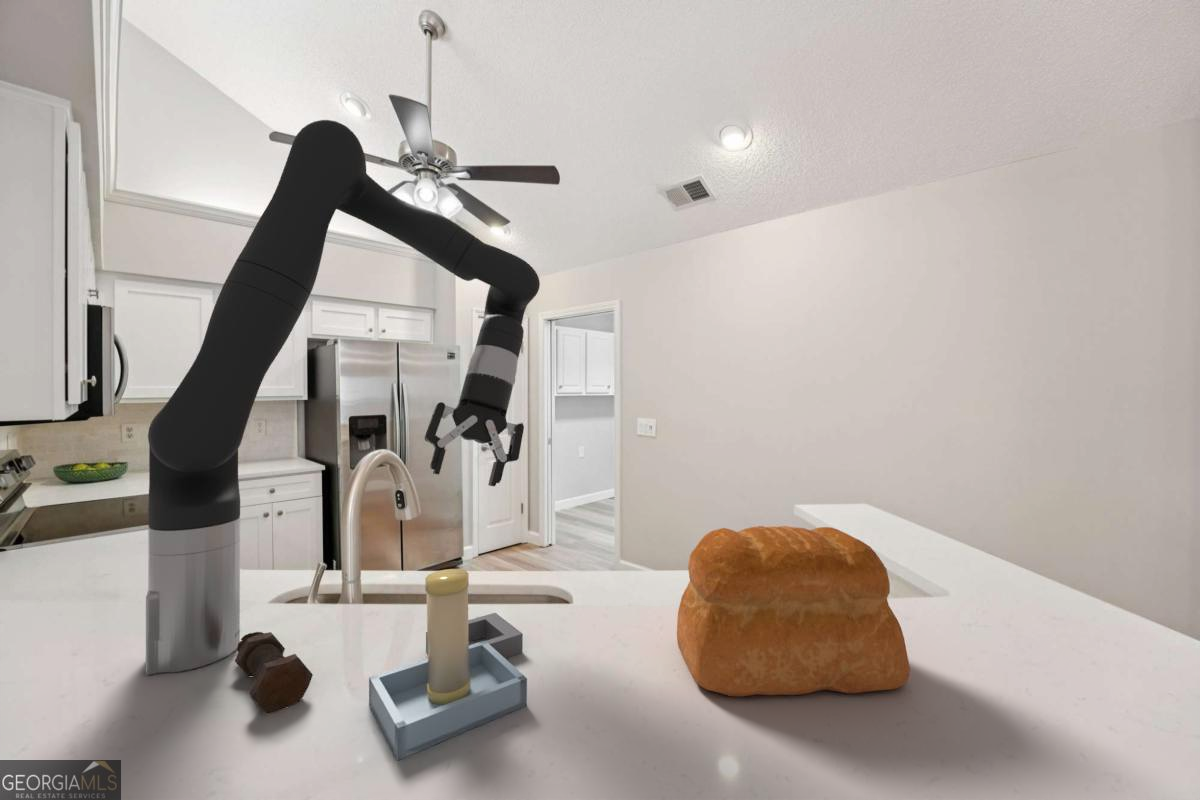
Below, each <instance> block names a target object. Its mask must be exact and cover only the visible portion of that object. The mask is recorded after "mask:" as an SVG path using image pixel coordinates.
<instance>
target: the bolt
mask: <svg viewBox="0 0 1200 800" xmlns="http://www.w3.org/2000/svg"><path fill="white" fill-rule="evenodd" d="M236 650H237V655H236V656H235V659H234V662H235V664H236V666H238V668H239V669H240V670H241V671H242V672H243V673H244V674H245V675H246V676H247V678H250V677H249V676H253V677H254V679H255V680H254V682H253V684H252V686H251V688H250V690H249V692H248V695H249V696H250V698H251V699H252V700H253V702H254V703H255V704H256V705H257V706H258V707H259V708H260V709H261V710H262V711H263V712H264V713H265V714H266V715H267V714H273V713H277V712H280V711H281V710H285V709H287V708H286V707H288V708H289V707H292V706H294V705H296V704H297V702H298V703H299V702H300V701H301V700H302V699H303V697H304V696H305V694H306V692H307V690H308V688H309V687H310V685H311V681H312V678H313V675H314V674H313V673H312V672H311V670H310V669H309V668H308V667H307V666H306V664H304V662H303V661H302V660H301V658H300V657H298V655H297V654H296V653H292V654H290V655H287V656H284V652H285V650H286V648H285V647H284V646H283V644H282V643H281V642H280V640H279V639H278V638H277V637H276V636H275V635H274V633H272V632H271V631H270V632H269V631H268V632H262V631H256V632H250V633H247V634H245V635H243V636H242V637H241V639H240V642H239V643H238V647H237V649H236ZM279 710H280V711H279Z"/></svg>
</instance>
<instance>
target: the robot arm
mask: <svg viewBox="0 0 1200 800" xmlns="http://www.w3.org/2000/svg"><path fill="white" fill-rule="evenodd" d="M365 155H366V154H365V151H364V148H363V146H362V144H361V142H360V140H359V138H358V137H357V136H356V134H355V133H354V132H353V131H352V130H351V129H350V127H348V126H347V125H345V124H343V123H341V122H339V121H336V120H330V119H319V120H315V121H312V122H310V123H309V124H306V125H305V126H304V127H302V128H301V129H300V130H299V132H298V133H297V134H296V135H295V137H294V139H293V141H292V143H291V148H290V151H289V153H288V156H287V158H286V161H285V165H284V167H283V170H282V172H281V176H280V179H279V181H278V183H277V186H276V188H275V191H274V193H273V195H272V197H271V198H270V201H269V202H268V204H267V206H266V208H265V209H264V211H263V213H262V214H261V216H260V218H259V219H258V221H257V223H256V224H255V226H254V228H253V230H252V232H251V234H250V236H249V238H248V240H247V241H246V243H245V245H244V247H243V249H242V250H241V252H240V254H239V256H238V257H237V259H235V260H236V261H235V262H234V264H233V266H232V268H231V269H230V271H229V273H228V275H227V277H226V279H225V280H224V283H223V285H222V287H221V289H220V292H219V294H218V296H217V299H216V302H215V304H214V307H213V310H212V311H211V316H210V318H209V321H208V325H207V328H206V332H205V335H204V338H203V341H202V344H201V347H200V350H199V351H198V353H197V355H196V358H195V359H194V361H193V363H192V365H191V367H190V368H189V369H188V371H187V373H186V374H185V375H184V376H183V379H182V381H181V382H180V384H179V385H178V386H177V388H176V389H175V391H174V392H173V394H172V395H171V396H170V398H169V399H168V401H167V402H166V403H165V405H164V406H163V407H162V408H161V410H159V411H158V412H157V414H156V415H155V416H154V418H153V419H152V421H151V422H150V425H149V428H148V433H147V441H148V445H149V447H148V452H149V453H148V454H149V456H148V457H149V458H148V461H149V462H148V463H149V465H148V466H149V467H148V468H149V469H148V472H149V473H148V474H149V477H148V478H149V479H148V480H149V484H148V503H147V506H148V507H147V514H148V516H147V517H148V520H147V524H148V525H147V526H148V530H147V531H148V534H147V535H148V541H147V543H148V550H147V551H148V553H147V554H148V561H147V562H148V563H147V564H148V567H147V570H148V572H147V574H148V576H147V578H148V579H147V580H148V581H147V582H148V583H147V584H148V586H147V588H148V589H147V592H146V593H147V594H146V595H145V675H147V676H149V675H152V674H157V673H177V672H184V671H188V670H189V671H190V670H193V669H196V668H197V669H198V668H200V667H203V666H207V665H210V664H213V663H215V662H218V661H219V660H222V659H224V658H225V657H227V656H229V655H231V654H232V653H234V651H235V650H237V647H238V643H239V642H240V641H241V639H240V637H241V635H240V634H241V625H240V623H241V622H240V621H241V620H240V619H241V617H240V615H241V614H240V613H241V600H240V599H241V595H240V594H241V494H240V486H239V484H240V482H239V448H240V446H241V444H242V440H243V438H244V433H245V431H246V427H247V424H248V420H249V418H250V416H251V415H250V414H251V411H252V410H253V406H254V403H255V400H256V398H257V396H258V392H259V390H260V388H261V385H262V383H263V380H264V379H265V376H266V374H267V372H268V371H269V369H270V367H271V366H272V364H273V362H274V361H275V359H276V358H277V357H278V354H279V353H280V352H281V350H282V348H283V346H284V345H285V344H286V342H287V340H288V338H289V336H290V335H291V332H292V331H293V329H294V327H295V325H296V324H297V322H298V320H299V318H300V316H301V314H302V312H303V311H304V308H305V306H306V304H307V302H308V300H309V298H310V295H311V293H312V291H313V289H314V286H315V283H316V280H317V277H318V273H319V269H320V265H321V260H322V257H323V253H324V246H325V242H326V237H327V233H328V230H329V227H330V224H331V221H332V218H333V216H334V214H335V212H336V210H338V211H339V212H342V213H344V214H347V215H349V216H352V218H355V219H357V220H360V221H362V222H364V223H366V224H368V225H370V226H372V227H374V228H376V229H377V230H380V231H382V232H383V233H386V234H387V235H390V236H391V237H393V238H395V239H397V240H398V241H401V242H402V243H404V244H406V245H407V246H409V247H410V248H413V250H416V251H417V252H419V253H420V254H422V255H423V256H425V257H427V258H428V259H430V260H431V261H433V262H435V264H437V265H438V266H441V267H442V268H443V269H445V270H446V271H448V272H450V273H451V274H453V275H455V276H456V277H457V278H459V279H462V280H463V281H466V282H470V281H473V280H478V281H481V282H483V283H485V284H487V285H489V289H488V291H487V295H486V301H485V306H484V312H483V321H482V323H481V327H480V329H479V332H478V337H477V341H476V344H475V348H474V350H473V353H472V355H471V357H470V360H469V364H468V367H467V371H466V374H465V379H464V382H463V385H462V389H461V391H460V392H461V393H460V396H459V399H458V404H457V405H456V406H455V407H451V406H448V405H446V404H445V402H443V401H440V402H438V403H437V404H436V405H435V408H434V410H433V412H432V415H431V418H430V421H429V423H428V426H427V430H426V432H425V434H424V441H425V442H427V443H429V444H431V445H432V446H433V447H434V450H433V454H432V458H431V460H430V461H431V462H430V470H433V472H432V474H433V475H440V472H441V469H442V466H443V461H444V458H445V454H446V451H447V449H446V447H447V445H448V444H450V443H451V442H453V441H454V440H456V438H458V437H459V436H460V437H461V438H462V439H463V440H465V441H474V442H476V443H478V444H480V445H481V444H482V445H484V444H487V445H488V448H489V450H490V451H491V452H492V456H493V457H494V460H495V461H493V465H492V468H491V472H490V476H489V480H488V486H490V487H496V486H497V484H501V483H500V482H502V479H503V473H504V469H505V467H506V466H505V465H506V464H507V463H511V462H516V461H518V460H519V457H520V452H521V447H522V440H523V434H524V428H525V426H524V424H523V423H521V422H520V423H517V424H516V423H513V422H508V421H507V414H508V409H509V405H510V401H511V396H512V393H513V388H514V385H515V383H516V375H517V371H518V361H519V357H520V353H521V349H522V344H523V339H524V333H525V332H524V327H523V319H524V315H525V312H526V308H527V307H528V305H529V304H530V303H531V302H532V300H534V298H535V297H536V296H537V294H538V292H539V290H540V285H541V283H540V278H539V275H538V274H537V272H536V270H535V269H534V268H533V266H531V264H529V263H528V262H527V261H526V260H524V258H521V257H520V256H517V255H515V254H512V253H511V252H507V251H505V250H503V249H501V248H498V247H496V246H494V245H490V244H488V243H485V242H484V241H482V240H481V239H479V238H478V237H476V236H475V235H474V234H472V233H471V232H469V231H468V230H466V229H465V228H463V227H462V226H461V225H459V224H458V223H456V222H454V221H452V220H451V219H449V218H448V217H446V216H443V215H441V214H439V213H437V212H434V211H432V210H429V209H426V208H423V207H421V206H417V205H415V204H411V203H409V202H407V201H405V200H403V199H401V198H400V197H397V196H396V195H394V194H392V193H391V192H390V191H388V190H386V189H385V188H384V187H382V186H381V185H380V184H379V183H378V182H376V181H375V180H374V179H373V178H372V177H371V176H370V175H369V174H368V173H367V161H366V156H365ZM450 415H451V417H452V419H453V422H454V425H455V426H456V427H454V428H453V429H452V430H451V431H449V432H448V433H447V434H445V435H444V436H443V437H441V438H440V437H439V436H438V435H437V432H438V429H439V426H440V424H441V421H442V420H445V419H447V418H448V417H449V416H450ZM505 430H506V431H507V435H508V437H509V438H510V439H509V440H510V441H509V446H508V452H507V453H506V452H505V450H504V447H503V443H502V440H501V438H500V436H499V435H500V434H501V433H503V431H505Z"/></svg>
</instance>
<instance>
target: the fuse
mask: <svg viewBox="0 0 1200 800" xmlns="http://www.w3.org/2000/svg"><path fill="white" fill-rule="evenodd" d="M424 579H425V581H424V582H425V583H424V584H425V585H424V589H425V592H426V630H427V631H426V632H427V643H428V653H427V659H428V684H427V693H428V700H429V701H430V702H432V703H434V704H438V705H446V704H448V703H451V702H454V701H456V700H459V699H462V698H464V697H466V696H467V695H468V694H469V692H470V689H471V687H470V675H469V645H470V642H469V629H468V620H469V597H468V596H469V592H468V591H469V582H470V581H469V580H470V579H469V572H468V571H466V570H464V569H460V568H459V569H458V568H449V569H442V570H437V571H434V572H432V573H429V574H428V575H426V576H425V578H424Z"/></svg>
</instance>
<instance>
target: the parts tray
mask: <svg viewBox="0 0 1200 800" xmlns="http://www.w3.org/2000/svg"><path fill="white" fill-rule="evenodd" d="M486 641H487V640H483V641H482V640H481V641H479V642H476V643H472V644H469V675H470V687H471V689H470V692H469V694H468V695H467V696H466V697H464V698H462V699H459V700H456V701H454V702H451V703H448V704H446V705H438V704H434V703H432V702H430V701H429V700H428V693H427V684H428V658H425V659H422V660H418V661H416V662H413V663H409V664H406V665H403V666H399V667H396V668H393V669H390V670H386V671H384V672H380V673H378V674H377V673H376V674H375V675H374V674H373V675H371V676H369V677H368V706H369V708H370V710H371V712H372V713H373V715H374V717H375V719H376V721H377V723H378V724H379V727H380V729H381V731H382V733H383V735H384V736H385V739H386V740H387V741H386V742H387V743H388V745H389V746H390V748H391V751H392V753H393V754H394V757H395V759H396V761H399V760H402V759H405V758H407V757H410V756H412V755H413V754H416V753H419V752H420V751H423V750H426V749H427V748H430V747H433V746H435V745H438V744H440V743H442V742H444V741H447V740H449V739H451V738H454V737H456V736H459V735H461V734H464V733H466V732H468V731H471V730H473V729H475V728H477V727H479V726H480V727H481V726H482V725H485V724H487V723H490V722H492V721H494V720H497V719H499V718H501V717H503V716H505V715H509V714H511V713H513V712H516V711H517V710H519V709H522V708H525V707H527V705H528V702H527V701H528V700H527V699H528V698H527V697H528V678H527V677H526V676H525V675H524V674H523V673H522V672H520V670H519V669H517V667H515V666H514V665H513V664H512V663H511V662H509V660H508V659H507V658H504V657H503V656H502V655H501V654H499V653H498V652H497V651H496V650H495V649H494V648H493V647H492V646H491V645H489V644H488V643H487V642H486Z"/></svg>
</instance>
